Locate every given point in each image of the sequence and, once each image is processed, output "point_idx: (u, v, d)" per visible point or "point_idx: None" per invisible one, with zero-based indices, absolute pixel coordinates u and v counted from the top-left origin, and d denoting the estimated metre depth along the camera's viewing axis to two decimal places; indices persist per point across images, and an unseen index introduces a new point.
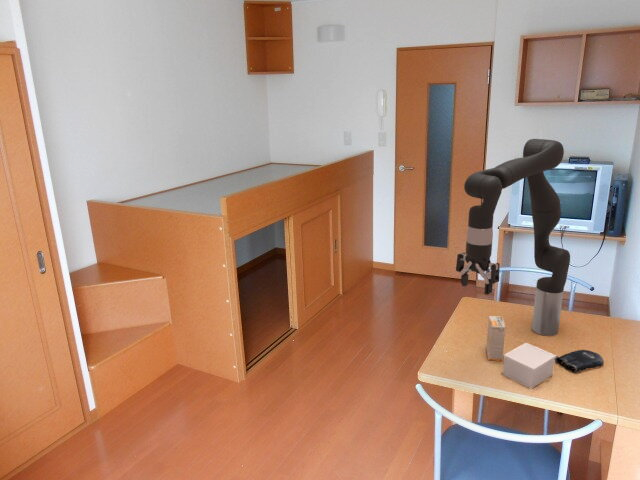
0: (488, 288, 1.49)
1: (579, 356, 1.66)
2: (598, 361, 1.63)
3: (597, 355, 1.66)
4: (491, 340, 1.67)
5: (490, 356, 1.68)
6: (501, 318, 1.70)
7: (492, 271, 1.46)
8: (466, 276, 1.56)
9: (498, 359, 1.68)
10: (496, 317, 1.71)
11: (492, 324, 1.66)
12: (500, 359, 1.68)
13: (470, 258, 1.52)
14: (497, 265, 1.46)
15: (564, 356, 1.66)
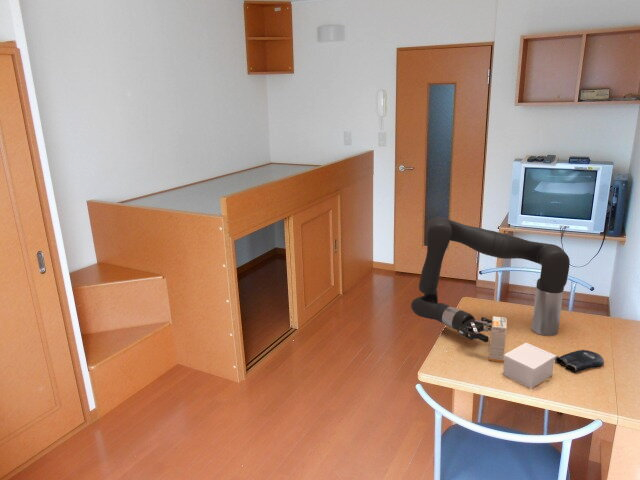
0: None
1: (579, 356, 1.66)
2: (598, 362, 1.63)
3: (597, 355, 1.66)
4: (492, 340, 1.66)
5: (490, 356, 1.68)
6: (504, 319, 1.70)
7: None
8: None
9: (498, 360, 1.68)
10: (500, 318, 1.70)
11: (493, 324, 1.66)
12: (500, 360, 1.67)
13: None
14: (459, 330, 1.74)
15: (564, 356, 1.66)
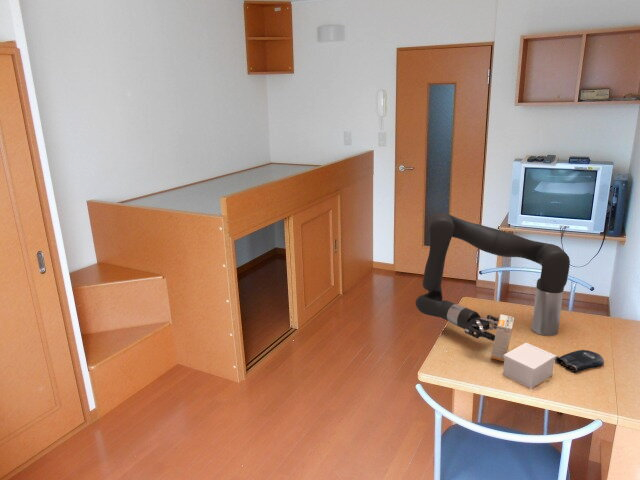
0: None
1: (579, 356, 1.66)
2: (598, 362, 1.63)
3: (597, 355, 1.66)
4: (495, 339, 1.64)
5: (493, 354, 1.67)
6: (512, 319, 1.66)
7: None
8: None
9: (500, 358, 1.66)
10: (507, 317, 1.67)
11: (499, 323, 1.64)
12: (502, 359, 1.66)
13: None
14: (465, 328, 1.72)
15: (564, 356, 1.66)
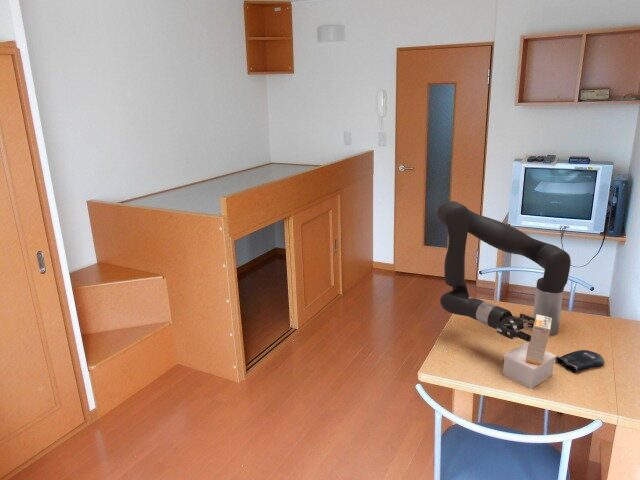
0: None
1: (580, 356, 1.65)
2: (599, 362, 1.63)
3: (598, 355, 1.66)
4: (531, 340, 1.51)
5: (528, 357, 1.53)
6: (549, 319, 1.53)
7: None
8: None
9: (536, 362, 1.52)
10: (544, 317, 1.54)
11: (536, 323, 1.50)
12: (539, 363, 1.52)
13: None
14: (497, 328, 1.58)
15: (565, 356, 1.66)
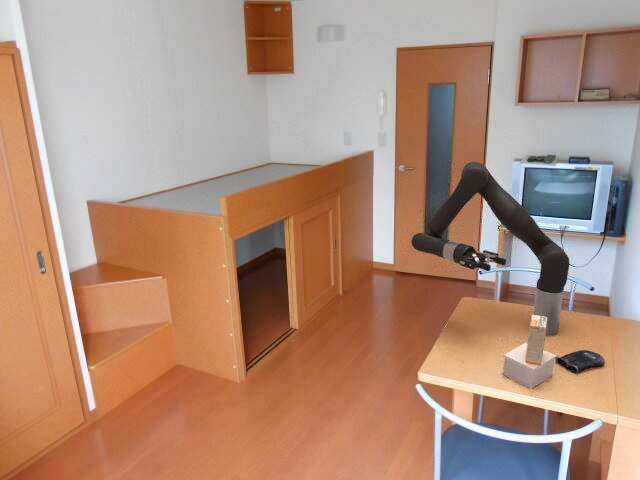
0: None
1: (580, 356, 1.65)
2: (599, 362, 1.63)
3: (598, 355, 1.66)
4: (529, 340, 1.52)
5: (527, 358, 1.53)
6: (545, 318, 1.54)
7: None
8: (496, 259, 1.71)
9: (536, 362, 1.53)
10: (539, 316, 1.55)
11: (531, 323, 1.51)
12: (538, 363, 1.52)
13: None
14: (460, 261, 1.70)
15: (565, 356, 1.66)
